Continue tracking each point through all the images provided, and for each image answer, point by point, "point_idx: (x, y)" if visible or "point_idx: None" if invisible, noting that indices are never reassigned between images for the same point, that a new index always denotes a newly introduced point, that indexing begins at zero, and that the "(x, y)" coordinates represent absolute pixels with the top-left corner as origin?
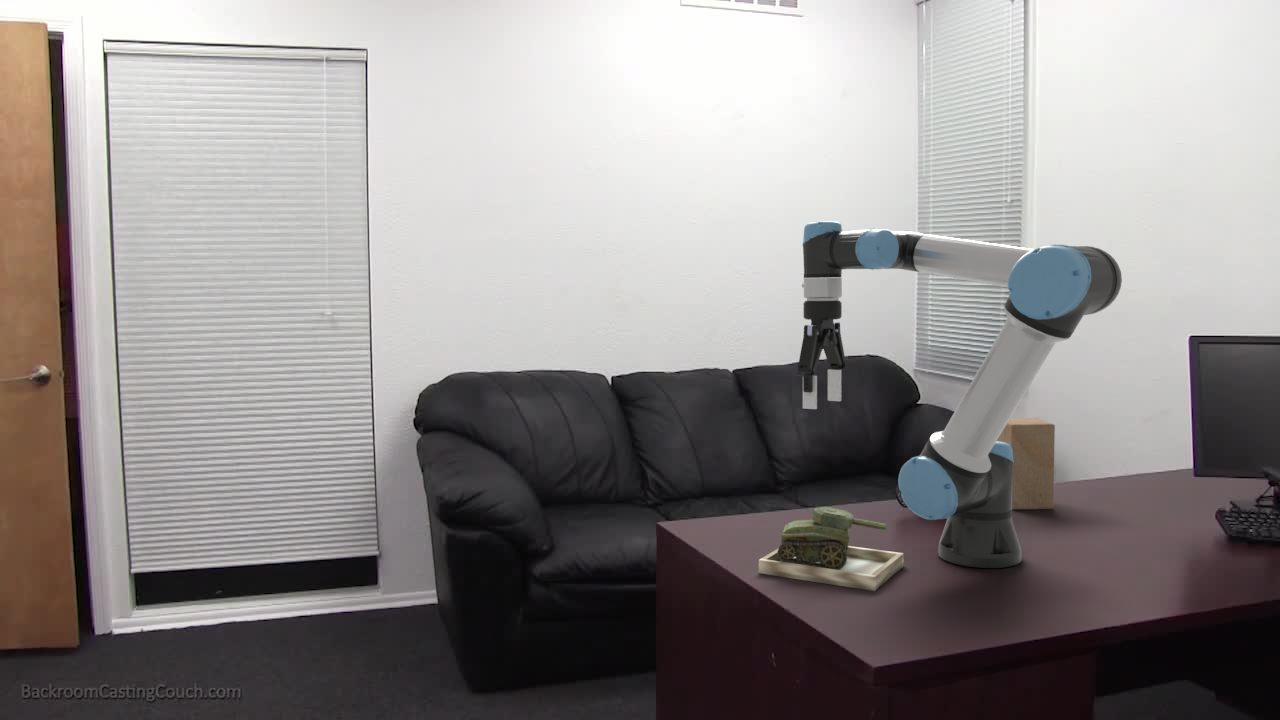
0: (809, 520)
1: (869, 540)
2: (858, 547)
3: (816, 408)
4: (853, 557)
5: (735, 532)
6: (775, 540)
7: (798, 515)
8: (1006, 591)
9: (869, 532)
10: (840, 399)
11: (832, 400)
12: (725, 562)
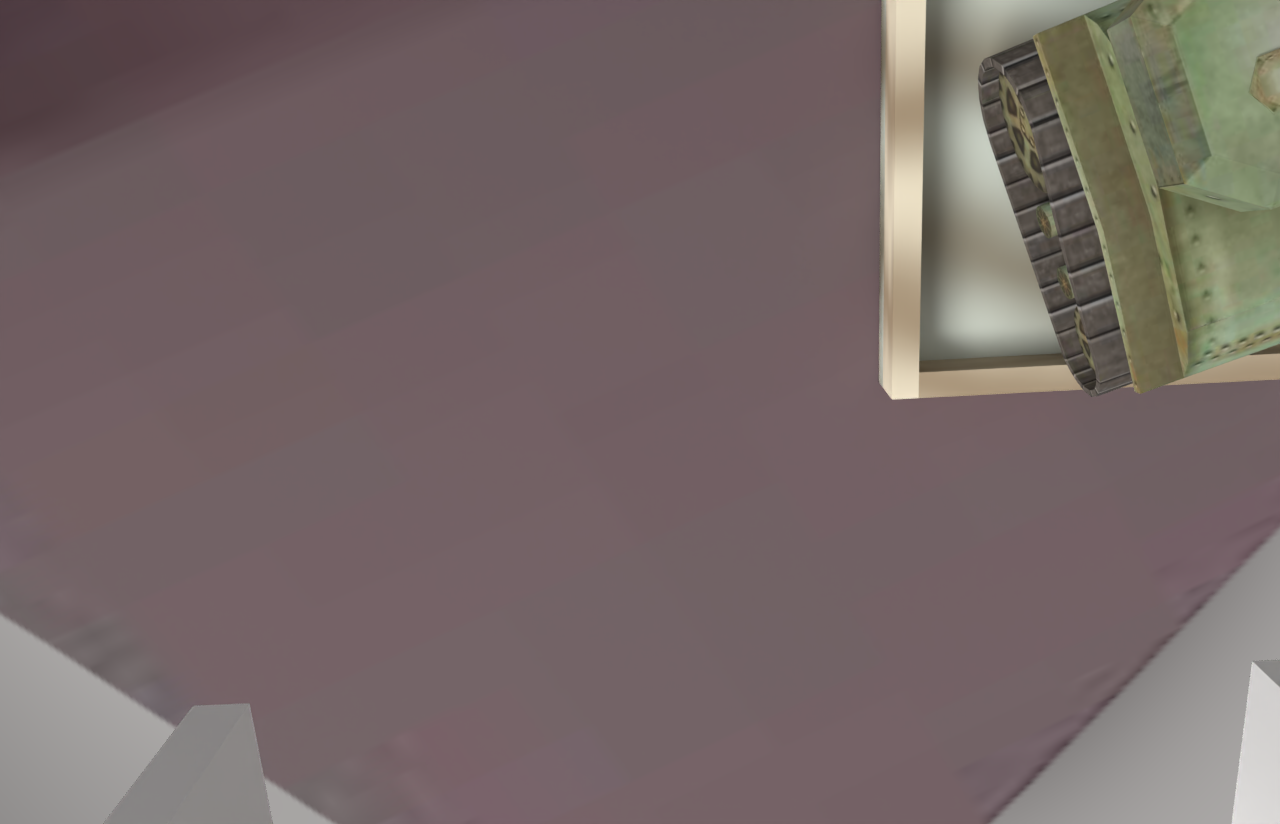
0: (1200, 241)
1: (487, 138)
2: (902, 27)
3: (1277, 664)
4: (928, 43)
5: (707, 747)
6: (743, 539)
7: (239, 650)
8: None
9: (333, 203)
10: (220, 720)
11: (266, 815)
12: (1201, 559)
